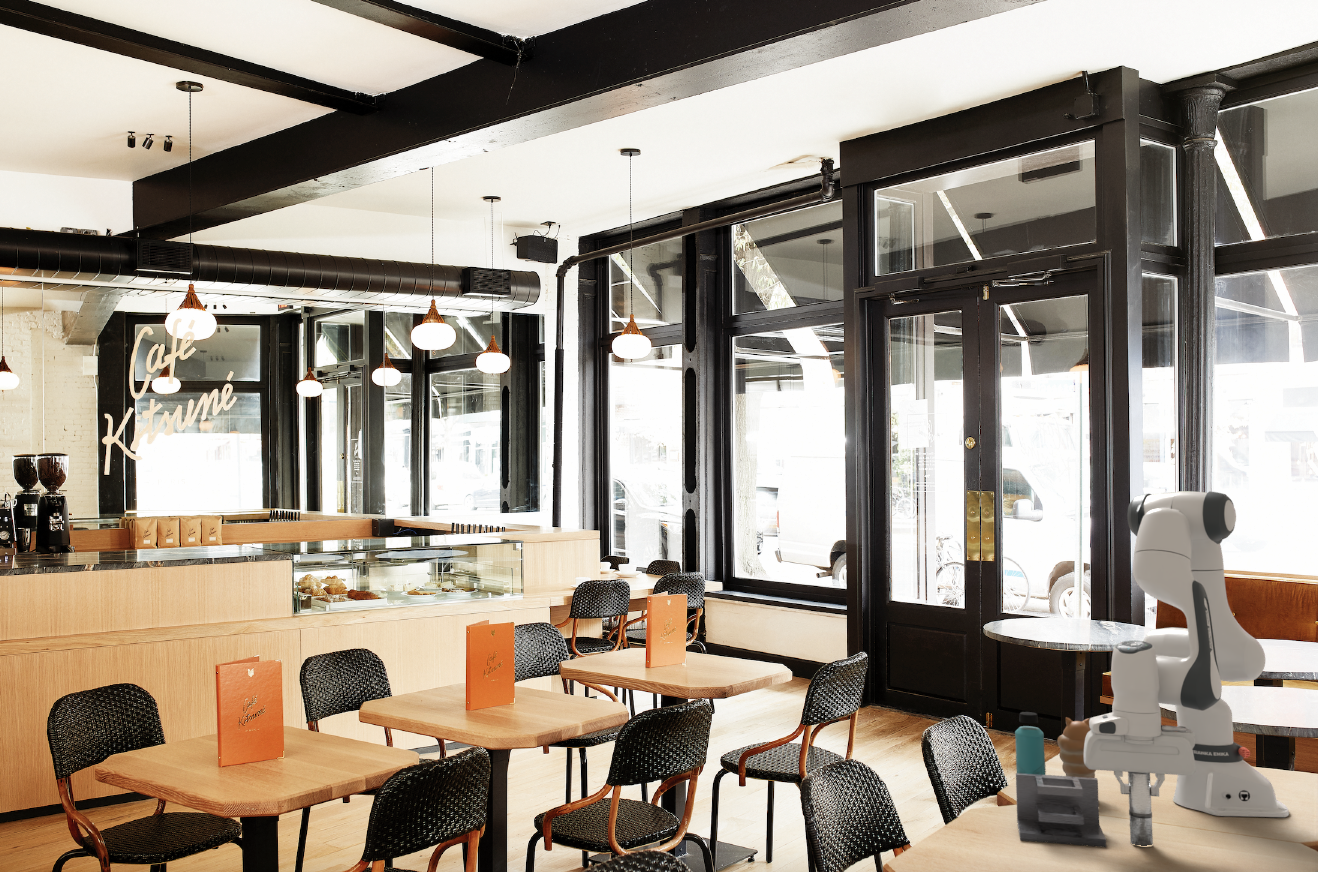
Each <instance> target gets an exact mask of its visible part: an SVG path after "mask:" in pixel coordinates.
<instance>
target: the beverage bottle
mask: <svg viewBox="0 0 1318 872" xmlns="http://www.w3.org/2000/svg"><path fill="white" fill-rule="evenodd" d="M1018 721H1019V723H1023V724H1028V725H1023V726H1019V727H1018V728H1017V729H1016V730H1015V731H1014V736H1015V768H1016V773H1024V774H1040V775H1046V773H1047V769H1046V767H1047V766H1046V758H1045V757H1046V753H1045V741H1044V738H1045V737H1044V736H1045V735H1044V732H1043V731H1042V730H1041V729H1040V728H1039V727H1036V726H1031V725H1033V724H1035V725H1036V724H1038V723H1039V717H1038V713H1037V712H1032V711H1031V712H1030V711H1021V712H1020V713H1019V719H1018ZM1029 725H1030V726H1029Z"/></svg>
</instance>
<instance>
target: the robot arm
mask: <svg viewBox="0 0 1318 872" xmlns="http://www.w3.org/2000/svg"><path fill="white" fill-rule="evenodd" d="M1236 522H1237V512H1236V509H1235V505H1234V503H1233V500H1232V499H1231V498H1230V497H1229V496H1228V495H1227V494H1225V493H1221V492H1217V491H1208V492H1204V491H1193V490H1191V491H1187V490H1185V491H1181V490H1180V491H1175V492H1161V493H1155V494H1154V493H1153V494H1151V493H1143V494H1140V495H1137V496H1134V498H1133V499H1132V500H1131V501H1130V503H1129V504H1128V507H1127V524H1128V527H1129V530H1130V532H1131V533H1133V534H1134V535H1135V537H1136V539H1135V544H1134V545H1135V546H1134V551H1133V552H1134V553H1133V562H1132V573H1133V578H1134V580H1135V582H1136V584H1137V586H1138V587H1139V589H1141V590H1142V591H1143V592H1144V593H1146V594H1147V595H1149V596H1150V597H1152V598H1154V599H1155V600H1159V602H1163V603H1165V604H1168V605H1170V606H1173V607H1174V608H1176V609H1178V610H1180V611H1181V612H1182V613H1183V614H1184V616H1185V618H1186V619H1185V620H1186V625H1187V626H1186V627H1187V628H1184V627H1175V626H1174V627H1164V628H1155V629H1152V630H1150V631H1149V632H1148V633H1147V634H1146V635H1145V637H1144V639H1143V640H1125V641H1120V642H1118V643H1117V644H1115V645H1114V647H1113V649H1112V656H1111V665H1110V666H1111V669H1110V680H1111V681H1110V683H1111V689H1112V693H1113V701H1112V704H1111V705H1112V707H1111V708H1112V709H1111V710H1112V712H1109V713H1104V714H1101V715H1097V716H1093V717H1092V716H1091V717H1089V718H1090V720H1089V727H1090V729H1091V730H1090V731H1089V732H1088V733H1087V735H1086V737H1085V743H1084V764H1085V765H1086V766H1087V767H1088V768H1089V769H1091V770H1096V771H1109V772H1113V775H1114V777H1115V778H1116V781H1117V782H1118V783H1119V788H1120V794H1121V795H1129V794H1130V792H1129V785H1128V783H1125V782H1123V780H1122V779H1121V778H1123V775H1124V772H1125V773H1128V772H1139V773H1150V774H1154V775H1155V777H1156V781H1155V782H1154V784H1153V785H1152V784H1150V786H1151V797H1160V788H1161V786H1163V785H1162V784H1163V783H1164V782H1165V779H1166V776H1165V775H1176V776H1177V778H1176V786H1175V791H1174V795H1173V798H1172V801H1173V802H1174V803H1175V804H1177V805H1180V806H1182V807H1185V808H1186V809H1187V808H1188V809H1192V810H1194V811H1195V810H1196V811H1201V812H1204V813H1206V814H1209V815H1211V816H1212V815H1213V816H1218V817H1255V818H1256V817H1257V818H1258V817H1261V818H1265V817H1266V818H1286V817H1288V816H1289V815H1290V813H1289V808H1288V806H1287V805H1286V804H1285V803H1283V802H1282V801H1280V800H1278V799H1277V797H1276V793H1275V789H1274V786H1273V784H1272V782H1271V781H1270V780H1269V779H1268V778H1267V777H1266V776H1265V775H1264V774H1262V772H1260V771H1259V770H1257V769H1256V768H1255V767H1254V766H1252V765H1250V764H1249V763H1248V762H1246V761H1245V760H1244V759H1247V758H1249V757H1250V756H1251V751H1250V750H1249V749H1248V748H1247V747H1245V746H1242V745H1241V744H1238V743H1237V742H1235V741H1234V732H1233V731H1234V730H1233V729H1234V727H1233V712H1232V709H1231V707H1230V706H1229V704H1228V703H1227V701H1226V700H1224V699H1223V698H1222V697H1221V696H1222V692H1223V691H1222V689H1223V687H1222V682H1229V683H1231V682H1232V683H1235V682H1237V683H1238V682H1247V681H1248V682H1249V681H1254V680H1257V679H1258V678H1259V677H1260V675H1262V673H1263V671H1264V670H1265V668H1266V667H1265V666H1266V655H1265V651H1264V648H1263V647H1262V645H1261V644H1260V642H1259V641H1258V640H1257V638H1255V637H1253V636H1252V635H1251V634H1249V632H1247V631H1246V630H1245V629H1244V628H1243V627H1242V626H1241V624H1240V623H1238V621H1237V619H1236V618H1235V616H1234V614H1233V613H1232V610H1231V608H1230V604H1229V601H1228V597H1227V596H1228V595H1227V590H1226V588H1227V587H1226V580H1225V567H1224V558H1223V551H1222V546H1221V543H1222V542H1223V540H1225V539H1227V538H1228V537H1229V536H1230V535H1231V534H1232V533H1233V532H1234V529H1235V528H1236V527H1235V526H1236ZM1160 704H1161V705H1162V704H1164V705H1170V706H1171V705H1172V706H1175V712H1176V713H1175V715H1176V720H1177V721H1176V722H1177V723H1176V724H1177V726H1175V725H1174V726H1173V725H1165V724H1164V725H1163V724H1162V715H1161V714H1162V713H1161V706H1160Z"/></svg>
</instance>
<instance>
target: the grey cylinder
mask: <svg viewBox="0 0 1318 872" xmlns="http://www.w3.org/2000/svg"><path fill="white" fill-rule="evenodd" d="M1127 781H1128V782H1127V784H1128V785H1129V792H1130V794H1128V808H1129V809H1128V815H1129V834H1130V835H1129V836H1130V844H1131V843H1132V844H1135V845H1141V846H1147V845H1152V844H1153V845H1154V842H1153V841H1154V839H1153V838H1154V837H1153V819H1152V818H1153V812H1152V811H1153V810H1152V796H1151V786H1150V785H1151V773H1139V772H1127ZM1132 844H1131V845H1132Z"/></svg>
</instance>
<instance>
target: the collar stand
mask: <svg viewBox="0 0 1318 872" xmlns="http://www.w3.org/2000/svg"><path fill="white" fill-rule="evenodd" d="M1098 781H1099V780H1098V778H1097V777H1095V778H1087V777H1071V776H1066V775H1055V774H1054V775H1053V774H1052V775H1051V774H1045V775H1040V774H1024V773H1017V772H1016V773H1015V788H1016V789H1015V790H1016V795H1015V796H1016V823H1018V824H1017V828H1018V829H1019V830H1018V829H1017V830H1018V836H1019V840H1020V841H1023V842H1034V843H1036V842H1035V841H1037V842H1038V843H1046V842H1047V844H1060V845H1061V844H1062V845H1071V844H1074V845H1073V846H1084V845H1085V846H1086V845H1088V846H1086V847H1095V846H1097V848H1107V839H1106V836H1105V833H1104V832H1103V829H1102V826H1101V825H1100V806H1099V805H1100V804H1099V803H1100V801H1099V782H1098ZM1085 846H1084V847H1085Z"/></svg>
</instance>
